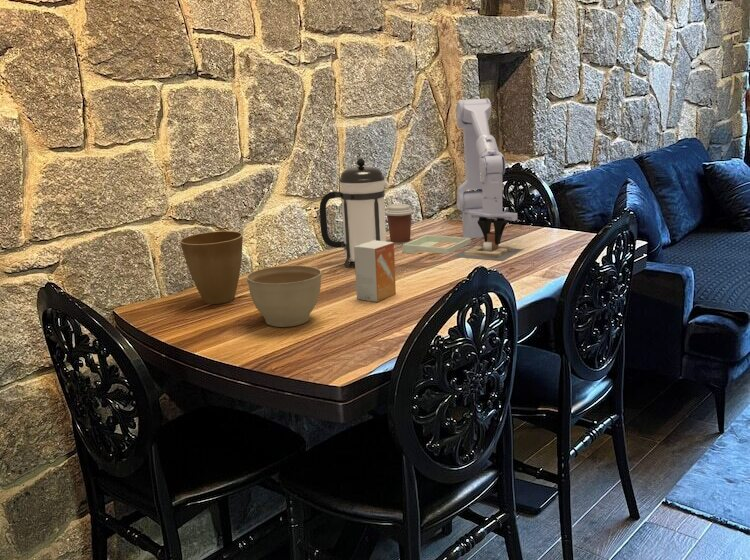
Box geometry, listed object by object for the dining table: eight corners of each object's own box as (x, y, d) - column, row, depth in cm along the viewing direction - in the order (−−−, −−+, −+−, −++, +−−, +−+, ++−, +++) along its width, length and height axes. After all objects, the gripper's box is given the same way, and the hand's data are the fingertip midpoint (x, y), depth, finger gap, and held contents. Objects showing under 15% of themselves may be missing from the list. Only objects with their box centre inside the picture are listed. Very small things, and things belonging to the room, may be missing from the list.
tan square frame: (478, 247, 215) (478, 231, 214) (510, 250, 210) (510, 233, 208) (464, 255, 207) (464, 238, 205) (496, 257, 201) (496, 240, 200)
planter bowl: (314, 333, 149) (310, 283, 147) (240, 332, 152) (235, 283, 149) (332, 310, 165) (329, 264, 162) (265, 310, 168) (260, 264, 165)
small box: (377, 302, 169) (374, 248, 165) (356, 299, 172) (353, 246, 169) (396, 294, 175) (394, 241, 172) (375, 290, 179) (373, 239, 175)
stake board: (473, 248, 219) (473, 235, 218) (524, 252, 211) (524, 239, 210) (450, 259, 206) (450, 246, 205) (502, 264, 198) (502, 250, 197)
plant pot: (214, 289, 187) (207, 229, 183) (260, 294, 180) (254, 232, 176) (174, 305, 175) (166, 241, 170) (222, 311, 168) (215, 245, 164)
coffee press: (371, 254, 218) (366, 154, 210) (402, 263, 205) (397, 157, 197) (322, 264, 209) (314, 160, 201) (350, 274, 196) (343, 163, 188)
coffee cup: (380, 243, 232) (378, 207, 229) (398, 238, 239) (396, 202, 236) (402, 246, 227) (401, 209, 223) (420, 241, 233) (418, 204, 230)
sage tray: (426, 242, 231) (426, 234, 230) (471, 246, 222) (471, 238, 222) (402, 252, 218) (402, 244, 217) (448, 256, 210) (448, 248, 209)
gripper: (463, 198, 208) (464, 244, 211) (510, 200, 200) (510, 248, 204) (473, 194, 213) (474, 239, 217) (520, 196, 206) (520, 243, 209)
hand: (492, 243), depth 211 cm, fingers closed on tan square frame, 2 cm apart
